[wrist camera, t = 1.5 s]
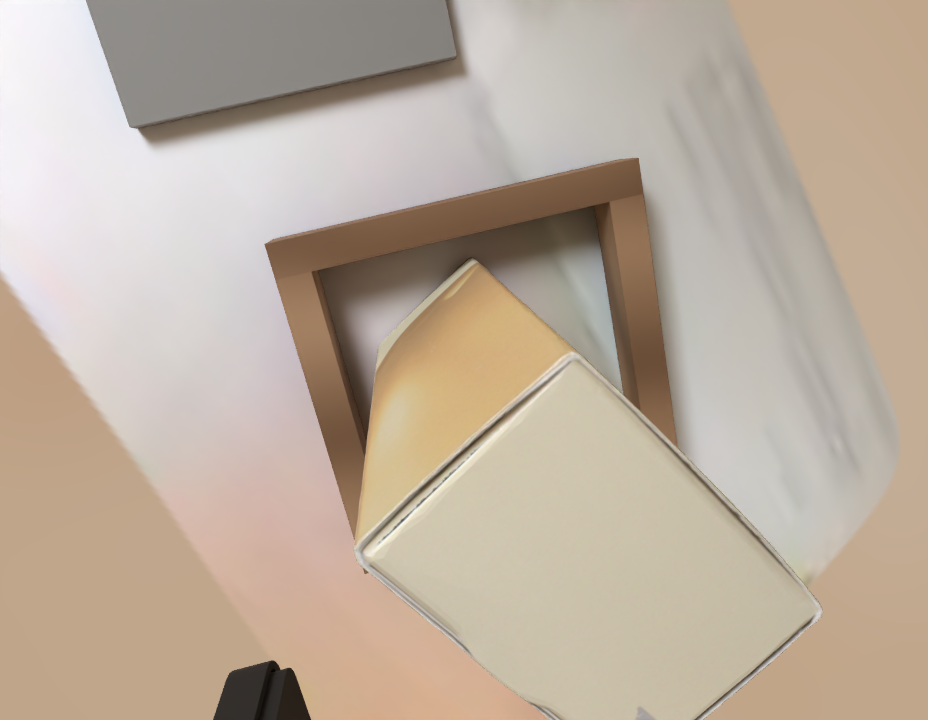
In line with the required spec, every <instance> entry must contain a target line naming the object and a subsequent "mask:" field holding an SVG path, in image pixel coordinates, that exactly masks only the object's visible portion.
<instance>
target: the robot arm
mask: <svg viewBox="0 0 928 720" xmlns="http://www.w3.org/2000/svg"><path fill="white" fill-rule="evenodd" d="M213 720H311V719H310V716H309V713H308V710H307V707H306V704H305V701H304V698H303V695H302V693H301V690H300V687H299V684H298V681H297V678H296V676H295V673H294V671H293V670H292V668H286V669H283V670H280V668H279V665H278V664H277V663H276V662H275V661H268V662H264V663H261V664H257V665H253V666H249V667H245V668H242V669H238V670H234V671H232V672H231V673H229V675H228V678H227V680H226V682H225V685H224V688H223V692H222V695H221V698H220V701H219V704H218V707H217V710H216V713H215V716H214V719H213Z"/></svg>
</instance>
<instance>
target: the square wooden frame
mask: <svg viewBox="0 0 928 720" xmlns="http://www.w3.org/2000/svg"><path fill="white" fill-rule="evenodd" d="M589 206H594V207H595V214H596V220H597V227H598V233H599V240H600V246H601V252H602V259H603V265H604V272H605V278H606V284H607V291H608V297H609V304H610V310H611V316H612V323H613V329H614V336H615V342H616V348H617V355H618V361H619V368H620V374H621V380H622V387H623V393H624V396H625V397H626V398H627V399H628V400H629V401H630V402H631V403H632V404H633V405H634V406H635V407H636V408H637V409H639V410H640V411H641V412H642V413H643V414H644V415H645V416H646V417H647V418H648V419H649V420H650V421H651V422H652V423H653V424H654V425H655V426H656V427H657V428H658V429H659V430H660V431H661V432H662V433H663V434H664V435H665V436H666V437H667V438H668V439H669V440H670V441H671V442H672V443H673V444H674V445H675V446H676V447H677V441H676V434H675V426H674V419H673V411H672V404H671V396H670V389H669V381H668V374H667V366H666V359H665V351H664V344H663V337H662V329H661V322H660V314H659V307H658V299H657V292H656V284H655V277H654V269H653V262H652V255H651V247H650V240H649V232H648V225H647V217H646V210H645V202H644V195H643V187H642V180H641V173H640V165H639V158H630V159H619V160H615V161H610V162H606V163H602V164H597V165H593V166H589V167H584V168H580V169H576V170H571V171H567V172H563V173H558V174H554V175H550V176H545V177H541V178H537V179H532V180H528V181H524V182H519V183H515V184H511V185H506V186H502V187H498V188H493V189H489V190H485V191H480V192H476V193H472V194H467V195H463V196H459V197H454V198H450V199H446V200H441V201H437V202H433V203H428V204H424V205H420V206H415V207H411V208H407V209H402V210H398V211H394V212H389V213H385V214H381V215H376V216H372V217H368V218H363V219H359V220H355V221H350V222H346V223H342V224H337V225H333V226H329V227H324V228H320V229H316V230H311V231H307V232H303V233H298V234H294V235H290V236H285V237H281V238H277V239H273V240H271V241H269V242H268V243H266V244H265V247H266V250H267V254H268V257H269V260H270V264H271V267H272V270H273V273H274V277H275V280H276V283H277V287H278V290H279V293H280V296H281V300H282V303H283V306H284V310H285V313H286V316H287V320H288V323H289V326H290V329H291V333H292V336H293V339H294V343H295V346H296V349H297V352H298V356H299V359H300V362H301V366H302V369H303V372H304V375H305V379H306V382H307V385H308V389H309V392H310V395H311V399H312V402H313V405H314V408H315V412H316V415H317V418H318V422H319V425H320V428H321V431H322V435H323V438H324V441H325V445H326V448H327V451H328V454H329V458H330V461H331V464H332V468H333V471H334V474H335V478H336V481H337V484H338V487H339V491H340V494H341V497H342V501H343V504H344V507H345V510H346V514H347V517H348V520H349V524H350V527H351V530H352V533H353V537H354V540H355V535H356V527H357V520H358V512H359V501H360V495H361V489H362V479H363V470H364V462H365V454H366V445H367V442H366V438H365V435H364V431H363V427H362V424H361V420H360V417H359V413H358V410H357V406H356V403H355V399H354V396H353V392H352V389H351V385H350V382H349V378H348V375H347V371H346V368H345V364H344V360H343V357H342V353H341V350H340V346H339V343H338V339H337V336H336V332H335V329H334V325H333V322H332V318H331V315H330V311H329V308H328V304H327V301H326V297H325V293H324V290H323V286H322V283H321V279H320V276H319V272H318V270H321V269H325V268H329V267H333V266H338V265H342V264H346V263H350V262H355V261H359V260H363V259H368V258H372V257H376V256H380V255H385V254H389V253H393V252H397V251H402V250H406V249H410V248H414V247H419V246H423V245H427V244H432V243H436V242H440V241H444V240H449V239H453V238H457V237H461V236H466V235H470V234H474V233H478V232H483V231H487V230H491V229H496V228H500V227H504V226H508V225H513V224H517V223H521V222H525V221H530V220H534V219H538V218H542V217H547V216H551V215H555V214H560V213H564V212H568V211H572V210H577V209H581V208H585V207H589ZM363 570H364V573H365V574H366V573H369V572H368V571H367V570H365V569H364V568H363Z"/></svg>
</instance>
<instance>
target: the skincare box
mask: <svg viewBox="0 0 928 720" xmlns="http://www.w3.org/2000/svg"><path fill="white" fill-rule="evenodd" d="M354 554H355V557H356V561H357V562H358V563H359V564H360V566H361V567H363V568H364V569H365V570H367V571H368V572H369V573H370V574H372V575H373V576H374V577H375V578H376V579H378V580H379V581H380V582H381V583H383V584H384V585H385V586H386V587H387V588H389V589H390V590H391V591H392V592H393V593H395V594H396V595H397V596H398V597H399V598H400V599H402V600H403V601H404V602H405V603H406V604H408V605H409V606H410V607H411V608H413V609H414V610H415V611H416V612H418V613H419V614H420V615H421V616H422V617H424V618H425V619H426V620H427V621H429V622H430V623H431V624H432V625H433V626H435V627H436V628H437V629H438V630H440V631H441V632H442V633H443V634H444V635H446V636H447V637H448V638H449V639H451V640H452V641H453V642H455V643H456V644H457V645H458V646H459V647H460V648H461V649H462V650H463V651H464V652H466V653H467V654H468V655H469V656H470V657H471V658H473V659H474V660H475V661H476V662H477V663H478V664H480V665H481V666H482V667H483V668H484V669H485V670H486V671H487V672H489V673H490V674H491V675H492V676H493V677H495V678H496V679H497V680H498V681H499V682H500V683H502V684H503V685H504V686H506V687H507V688H509V689H510V690H511V691H513V692H514V693H516V694H517V695H519V696H520V697H521V698H523V699H524V700H525V701H527V702H528V703H530V704H531V705H532V706H534V707H535V708H536V709H537V710H538V711H540V712H541V713H542V714H543V715H544V716H546V717H547V718H548V719H549V720H704V719H705V718H706V717H707V716H708V715H710V714H711V713H712V712H713V711H714V710H715V709H717V708H718V707H719V706H720V705H721V704H723V702H725V701H726V700H727V699H729V698H730V697H731V696H732V695H734V694H735V693H736V692H737V691H738V690H739V689H741V688H742V687H743V686H744V685H745V684H746V683H748V682H749V681H750V680H751V679H752V678H753V677H754V676H756V675H757V674H758V673H759V672H761V671H762V670H763V669H764V668H765V667H767V666H768V665H769V664H770V663H771V662H772V661H773V660H775V659H776V658H777V657H778V656H779V655H780V654H781V653H783V651H785V650H786V649H787V648H788V647H789V646H790V644H792V643H793V642H794V640H796V639H797V638H799V636H800V635H801V634H802V633H803V632H805V631H806V630H807V629H808V628H809V627H811V626H812V625H813V624H815V623H816V622H817V621H818V620H819V619H820V618H821V617H822V612H823V609H822V607H821V605H820V603H819V601H817V599H816V598H815V597H814V595H813V594H812V593H811V592H810V591H809V590H808V588H807V587H806V586H805V584H804V583H803V582H802V581H801V580H800V578H799V577H798V576H797V575H796V574H795V572H794V571H793V570H792V569H791V568H790V567H789V565H788V564H787V563H786V562H785V560H784V559H783V558H782V557H781V556H780V555H779V554H778V553H777V551H776V550H775V549H774V548H773V547H772V546H771V545H770V543H769V542H768V541H767V540H766V539H765V538H764V537H763V536H762V535H761V533H760V532H759V531H758V530H757V529H756V528H755V527H754V526H753V525H752V524H751V523H750V522H749V521H748V520H747V519H746V518H745V517H744V515H743V514H742V513H741V512H740V511H739V510H738V509H737V508H736V507H735V506H734V505H733V504H732V503H731V502H730V501H729V499H728V498H727V497H726V496H725V495H724V494H723V493H722V492H721V491H720V490H719V489H718V488H717V487H716V486H715V485H714V484H713V483H712V482H711V481H710V480H709V479H708V478H707V477H706V476H705V475H704V474H703V473H702V472H701V471H700V470H699V469H698V468H697V467H696V466H695V465H694V464H693V463H692V462H691V461H690V460H689V459H688V458H687V457H686V456H685V455H684V454H683V453H682V452H681V451H680V450H679V449H678V448H677V447H676V446H675V445H674V444H673V443H672V442H671V441H670V440H669V439H668V438H667V437H666V436H665V435H664V434H663V433H662V432H661V431H660V430H659V429H658V428H657V427H656V426H655V425H654V424H653V423H652V422H651V421H650V420H649V419H648V418H647V417H646V416H645V415H644V414H643V413H642V412H641V411H640V410H639V409H637V408H636V407H635V406H634V405H633V404H632V403H631V402H630V401H629V400H628V399H627V398H626V397H625V396H624V395H623V394H622V393H621V392H620V391H619V390H618V389H617V388H616V387H614V386H613V385H612V384H611V383H610V382H609V381H608V380H607V379H606V378H605V377H604V376H603V375H602V374H601V373H600V372H599V371H598V370H597V369H596V368H594V367H593V366H592V365H591V364H590V363H589V362H588V361H587V360H586V359H585V358H584V357H583V356H582V355H581V354H580V353H578V352H577V351H576V350H575V349H574V348H573V347H572V346H571V345H570V344H568V343H567V342H566V341H565V340H564V339H563V338H562V337H561V336H560V335H558V334H557V333H556V332H555V331H554V330H553V329H552V328H551V327H549V326H548V325H547V324H546V323H545V322H544V321H543V320H542V319H540V318H539V317H538V316H537V315H536V314H535V313H534V312H533V311H532V310H531V309H530V308H528V307H527V306H526V305H525V304H524V303H523V302H522V301H521V300H519V299H518V298H517V297H516V296H515V295H514V294H513V293H512V292H510V291H509V290H508V289H507V288H506V287H505V286H504V285H503V284H502V283H501V282H500V281H499V280H497V279H496V278H495V277H494V276H493V275H492V274H491V273H490V272H489V271H488V270H487V269H486V268H485V267H484V266H482V265H481V264H480V263H479V262H478V261H477V260H476V259H474V258H470V259H468V260H467V261H466V262H465V263H464V264H463V265H462V266H460V267H459V268H458V269H457V270H456V271H455V272H454V273H453V274H452V275H451V276H449V277H448V278H447V279H446V280H445V281H444V282H443V283H442V284H441V285H440V286H439V287H438V288H437V289H436V290H435V291H433V292H432V293H431V294H430V295H429V296H428V297H427V298H426V299H425V300H424V301H423V302H422V303H421V304H420V305H419V306H418V307H417V308H416V309H415V310H413V311H412V312H411V313H410V314H409V315H408V316H407V317H406V318H405V319H404V320H403V321H402V322H401V323H400V324H399V325H398V326H397V327H396V328H395V329H394V330H393V331H392V332H391V333H390V334H389V335H388V336H387V337H386V338H385V339H384V340H383V341H382V343H381V344H380V345H379V347H378V351H377V360H376V369H375V376H374V386H373V395H372V403H371V411H370V420H369V429H368V436H367V445H366V454H365V462H364V470H363V479H362V489H361V495H360V501H359V512H358V520H357V527H356V535H355V544H354Z"/></svg>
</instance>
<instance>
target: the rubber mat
mask: <svg viewBox="0 0 928 720" xmlns="http://www.w3.org/2000/svg"><path fill="white" fill-rule="evenodd" d="M86 2H87V5H88V8H89V11H90V14H91V17H92V19H93V22H94V25H95V28H96V31H97V34H98V37H99V40H100V43H101V46H102V48H103V51H104V54H105V57H106V60H107V63H108V66H109V69H110V72H111V74H112V77H113V80H114V83H115V86H116V89H117V92H118V95H119V98H120V101H121V103H122V106H123V109H124V112H125V115H126V118H127V121H128V124H129V127H131V128H136V129H137V128H141V127H146V126H150V125H155V124H159V123H164V122H169V121H173V120H178V119H182V118H187V117H191V116H196V115H201V114H205V113H210V112H214V111H219V110H223V109H228V108H233V107H237V106H242V105H246V104H251V103H255V102H260V101H265V100H269V99H274V98H278V97H283V96H287V95H292V94H297V93H301V92H306V91H310V90H315V89H319V88H324V87H329V86H333V85H338V84H342V83H347V82H351V81H356V80H361V79H365V78H370V77H374V76H379V75H383V74H388V73H393V72H397V71H402V70H406V69H411V68H415V67H420V66H425V65H429V64H434V63H438V62H443V61H447V60H452V59H455V58H456V56H457V54H456V49H455V44H454V39H453V34H452V29H451V24H450V19H449V14H448V9H447V4H446V0H86Z"/></svg>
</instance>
